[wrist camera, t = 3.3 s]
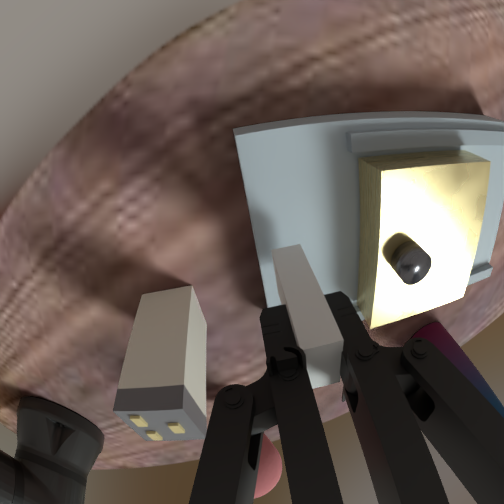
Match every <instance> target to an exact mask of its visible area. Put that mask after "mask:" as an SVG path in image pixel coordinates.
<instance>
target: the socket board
mask: <svg viewBox="0 0 504 504" xmlns="http://www.w3.org/2000/svg"><path fill="white" fill-rule="evenodd" d="M233 133H234V138H235V143H236V148H237V153H238V158H239V163H240V168H241V174H242V179H243V184H244V189H245V194H246V199H247V204H248V209H249V215H250V220H251V225H252V230H253V235H254V240H255V246H256V251H257V256H258V261H259V266H260V272H261V277H262V282H263V287H264V292H265V298H266V303H267V308H269V307H274V306H278V305H281V301H280V298H279V294H278V290H277V283H276V277H275V271H274V264H273V258H272V252H271V250H273V249H278V248H283V247H288V246H292V245H297V244H300V245H301V247H302V249H303V251H304V253H305V256H306V258H307V260H308V262H309V264H310V266H311V268H312V270H313V273H314V275H315V277H316V279H317V281H318V283H319V285H320V288H321V290H322V292H323V294H324V295H325V294H329V293H334V292H338V291H341V292H343V293H344V294H345V295H347V296H348V297H349V298H350V300H351V302H352V304H353V307H354V308H355V309H356V311H357V314H358V315H359V317H360V319H361V321H362V320H365V318H364V317H363V315H362V313H361V311H360V309H359V307H358V306H357V290H358V272H359V244H360V192H359V165H358V158H361V157H370V156H380V155H390V154H401V153H414V152H428V151H446V150H466V151H468V152H471V153H473V154H475V155H477V156H480V157H482V158H484V159H486V160H489V161H491V164H490V175H489V184H488V191H487V198H486V205H485V211H484V217H483V222H482V227H481V232H480V237H479V241H478V245H477V250H476V254H475V257H474V261H473V265H472V269H471V272H470V276H469V279H468V282H467V285H470V284H473V283H475V282H478V281H480V280H482V279H485V278H487V277H490V275H491V271H492V268H493V267H492V266H491V265H490V264H489V262H490V258H491V254H492V251H493V247H494V243H495V239H496V235H497V231H498V226H499V221H500V217H501V211H502V206H503V200H504V121H502V120H499V119H495V118H492V117H489V116H485V115H477V114H465V113H451V112H427V111H386V112H361V113H345V114H333V115H322V116H312V117H304V118H296V119H288V120H281V121H274V122H268V123H261V124H255V125H250V126H244V127H239V128H234V129H233Z"/></svg>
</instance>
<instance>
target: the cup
mask: <svg viewBox="0 0 504 504" xmlns="http://www.w3.org/2000/svg"><path fill="white" fill-rule="evenodd" d="M419 337H421V338H424V339H427V340H429V341H430V342H431V343H432V344H433V345H435V346H436V347H437V348H438V349H439V350H440V351H441V352H442V353H443V354H444V355H445V356H446V357H447V358H448V359H449V360H450V361H451V362H452V363H453V364H454V365H455V366H456V367H457V369H458V370H459V371H460V372H461V373H462V374H463V375H464V376H465V377H466V378H467V379H468V380H469V381H470V382H471V383H472V384H473V385H474V386H475V387H476V388H477V389H478V390H479V391H480V393H481V394H482V395H483V396H484V397H485V398H486V399H487V400H488V401H489V402H490V403H491V404H492V406H493V407H494V408H495V409H496V410H497V411H498V412H499V413H500V414H501V416H502V417H503V418H504V407H503V405H502V404H501V402H500V401H499V399H498V398H497V396H496V395H495V394H494V392H493V391H492V389H491V388H490V387H489V385H488V384H487V382H486V381H485V379H484V378H483V377H482V375H481V374H480V373H479V371H478V370H477V369H476V367H475V366H474V365H473V363H472V362H471V361H470V359H469V358H468V357H467V356H466V354H465V353H464V352H463V350H462V349H461V348H460V346H459V345H458V344H457V343H456V341H455V340H454V339H453V338H452V336H451V335H450V334H449V333H448V332H447V330H446V329H445V328H444V327H443V326H442V324H441V323H438V322H434V323H431V324H428V325H426V326H424V327H423V328H421V329H420V330H419V331H418V332H416V333H415V334H414V336H413V337H412V338H419ZM412 338H411V339H412Z"/></svg>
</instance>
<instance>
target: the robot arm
mask: <svg viewBox="0 0 504 504" xmlns="http://www.w3.org/2000/svg"><path fill="white" fill-rule="evenodd" d="M271 252H272V258H273V264H274V271H275V277H276V283H277V290H278V294H279V298H280V301H281V305H278V306H274V307H269V308H264V309H263V310H262V313H261V315H260V322H261V328H262V334H263V340H264V345H265V351H266V357H267V359H266V365H267V370H266V372H265V374H264V375H263V376H262V377H261V378H260V379H259V380H257V381H256V382H254V383H252V384H250V385H248V386H246V387H245V386H244V385H239V384H234V385H228V386H226V387H224V388H222V389H221V390H220V391H219V392H218V394H217V396H216V398H215V401H214V405H213V409H212V413H211V417H210V421H209V425H208V429H207V433H206V437H205V441H204V445H203V449H202V453H201V457H200V461H199V465H198V469H197V473H196V477H195V481H194V485H193V489H192V493H191V497H190V501H189V504H253V500H254V494H255V488H256V482H257V475H258V469H259V462H260V455H261V448H262V441H263V434H264V431H265V430H267V429H269V428H271V427H273V426H275V425H277V424H278V428H279V433H280V439H281V444H282V450H283V455H284V461H285V466H286V472H287V477H288V482H289V488H290V494H291V499H292V504H343V501H342V496H341V493H340V489H339V485H338V481H337V477H336V473H335V470H334V466H333V462H332V458H331V454H330V451H329V447H328V443H327V440H326V436H325V432H324V429H323V425H322V421H321V418H320V414H319V410H318V407H317V403H316V400H315V396H314V393H313V388H318V387H322V386H326V385H329V384H333V383H337V382H340V375H341V378H342V381H343V384H344V386H343V393H342V402H344V401H345V399H346V402H347V405H348V408H349V411H350V413H351V416H352V419H353V422H354V426H355V429H356V432H357V435H358V438H359V441H360V444H361V447H362V450H363V453H364V457H365V460H366V463H367V466H368V469H369V473H370V476H371V479H372V482H373V486H374V489H375V492H376V496H377V499H378V503H379V504H449V502H448V499H447V496H446V493H445V491H444V488H443V485H442V482H441V479H440V477H439V474H438V472H437V469H436V466H435V464H434V462H433V459H432V456H431V454H430V452H429V449H428V447H427V444H426V442H425V439H424V437H423V435H422V432H423V434H424V435H425V436H426V437H427V439H428V440H429V441H430V442H431V444H432V445H433V446H434V448H435V449H436V450H437V451H438V453H439V454H440V455H441V457H442V458H443V459H444V460H445V462H446V463H447V464H448V465H449V467H450V468H451V469H452V470H453V472H454V473H455V475H456V476H457V477H458V478H459V480H460V481H461V482H462V484H463V485H464V486H465V488H466V489H467V490H468V492H469V493H470V494H471V495H472V497H473V498H474V500H475V501H476V502H477V504H504V418H503V417H502V416H501V414H500V413H499V412H498V411H497V410H496V409H495V408H494V407H493V406H492V404H491V403H490V402H489V401H488V400H487V399H486V398H485V397H484V396H483V395H482V394H481V393H480V391H479V390H478V389H477V388H476V387H475V386H474V385H473V384H472V383H471V382H470V381H469V380H468V379H467V378H466V377H465V376H464V375H463V374H462V373H461V372H460V371H459V370H458V369H457V367H456V366H455V365H454V364H453V363H452V362H451V361H450V360H449V359H448V358H447V357H446V356H445V355H444V354H443V353H442V352H441V351H440V350H439V349H438V348H437V347H436V346H435V345H433V344H432V343H431V342H430V341H429V340H427V339H424V338H421V337H419V338H412V339H410V340H408V341H407V342H406V343H405V345H404V347H383V346H380V345H379V344H378V343H376V342H375V341H373V340H372V339H371V338H370V336H369V334H368V332H367V330H366V329H365V327H364V325H363V323H362V321H361V319H360V317H359V315H358V314H357V311H356V309H355V308H354V307H353V304H352V302H351V300H350V298H349V297H348V296H347V295H345V294H344V293H343V292H341V291H338V292H334V293H329V294H325V295H324V294H323V292H322V290H321V288H320V285H319V283H318V281H317V279H316V277H315V275H314V273H313V270H312V268H311V266H310V264H309V262H308V260H307V258H306V256H305V253H304V251H303V249H302V247H301V245H300V244H297V245H292V246H288V247H283V248H278V249H273V250H271ZM421 431H422V432H421ZM103 444H104V435H103V433H102V432H101V431H100V430H99V429H98V428H97V427H96V426H95V425H93V424H92V423H91V422H89V421H88V420H86V419H85V418H83V417H81V416H79V415H78V414H76V413H74V412H72V411H70V410H68V409H66V408H64V407H62V406H59V405H57V404H54V403H52V402H49V401H46V400H43V399H40V398H36V397H23V398H21V400H20V402H19V405H18V408H17V449H16V454H15V457H14V458H13V457H11V456H10V455H8V454H6V453H5V452H3V451H2V450H0V504H84V500H85V490H86V482H87V476H88V474H89V472H90V470H91V468H92V467H93V465H94V463H95V461H96V459H97V457H98V455H99V454H100V453H101V451H102V449H103Z"/></svg>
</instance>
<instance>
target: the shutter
mask: <svg viewBox="0 0 504 504" xmlns="http://www.w3.org/2000/svg"><path fill="white" fill-rule="evenodd" d="M490 164H491V161H489V160H486V159H484V158H482V157H480V156H477V155H475V154H473V153H471V152H468V151H466V150H446V151H428V152H414V153H401V154H390V155H380V156H370V157H361V158H358V165H359V192H360V244H359V272H358V290H357V306H358V307H359V309H360V311H361V313H362V315H363V317H364V318H365V320H366V322H367V324H368V326H369V328H370V329H372V328H375V327H379V326H382V325H385V324H388V323H391V322H395V321H398V320H401V319H404V318H407V317H410V316H413V315H416V314H419V313H421V312H424V311H427V310H430V309H433V308H435V307H438V306H441V305H443V304H446V303H449V302H451V301H454V300H456V299H459V298H461V297H463V295H464V292H465V289H466V286H467V282H468V279H469V276H470V272H471V269H472V265H473V261H474V257H475V254H476V250H477V245H478V241H479V237H480V232H481V227H482V222H483V217H484V211H485V205H486V198H487V191H488V184H489V175H490Z"/></svg>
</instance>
